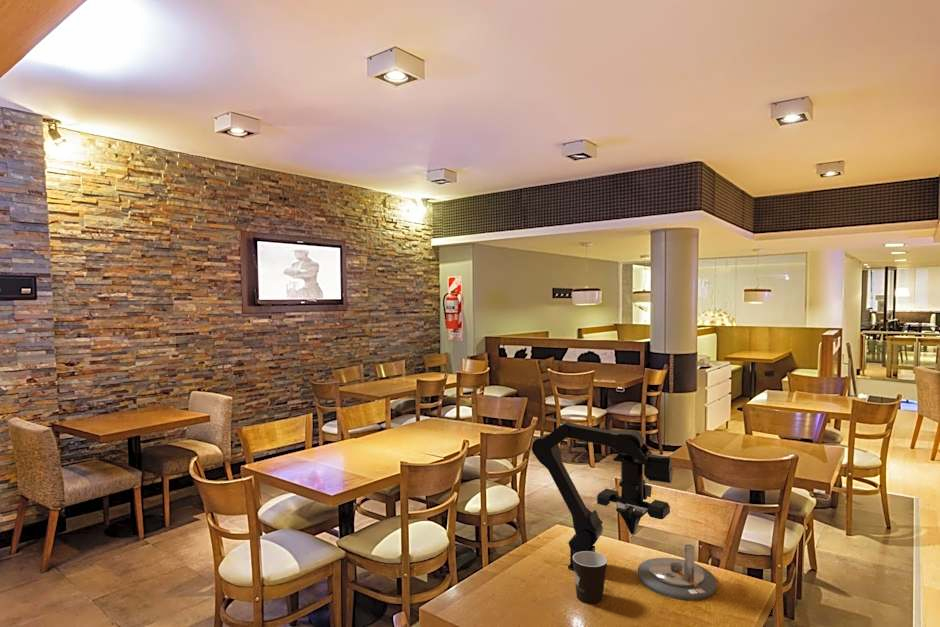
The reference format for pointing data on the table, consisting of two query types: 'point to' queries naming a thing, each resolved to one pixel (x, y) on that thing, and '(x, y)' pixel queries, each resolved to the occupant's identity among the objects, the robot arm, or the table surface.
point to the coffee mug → (589, 576)
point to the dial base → (673, 591)
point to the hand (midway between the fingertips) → (633, 533)
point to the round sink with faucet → (678, 570)
